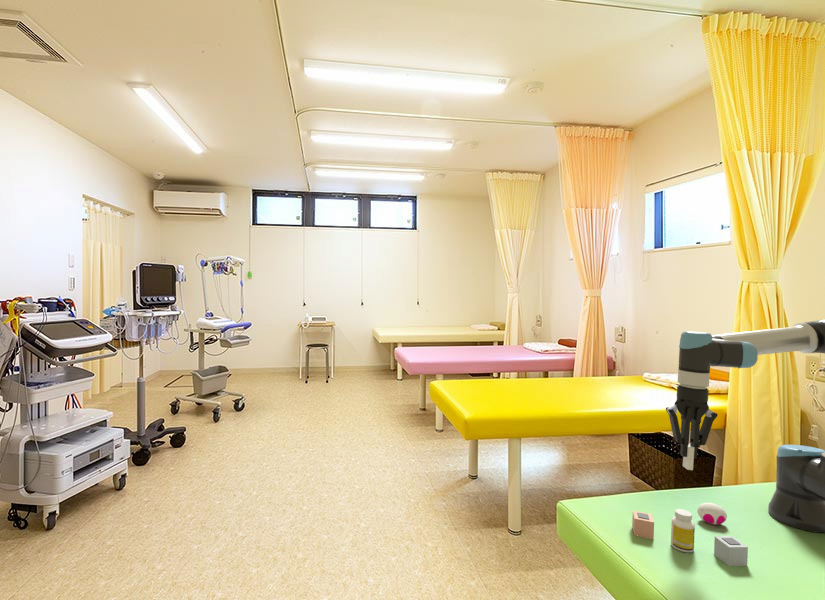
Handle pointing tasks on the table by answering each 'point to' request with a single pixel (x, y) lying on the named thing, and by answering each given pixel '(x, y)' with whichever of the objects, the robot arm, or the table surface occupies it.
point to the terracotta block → (643, 524)
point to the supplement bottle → (682, 531)
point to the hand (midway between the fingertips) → (687, 467)
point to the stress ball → (712, 513)
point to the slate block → (730, 551)
